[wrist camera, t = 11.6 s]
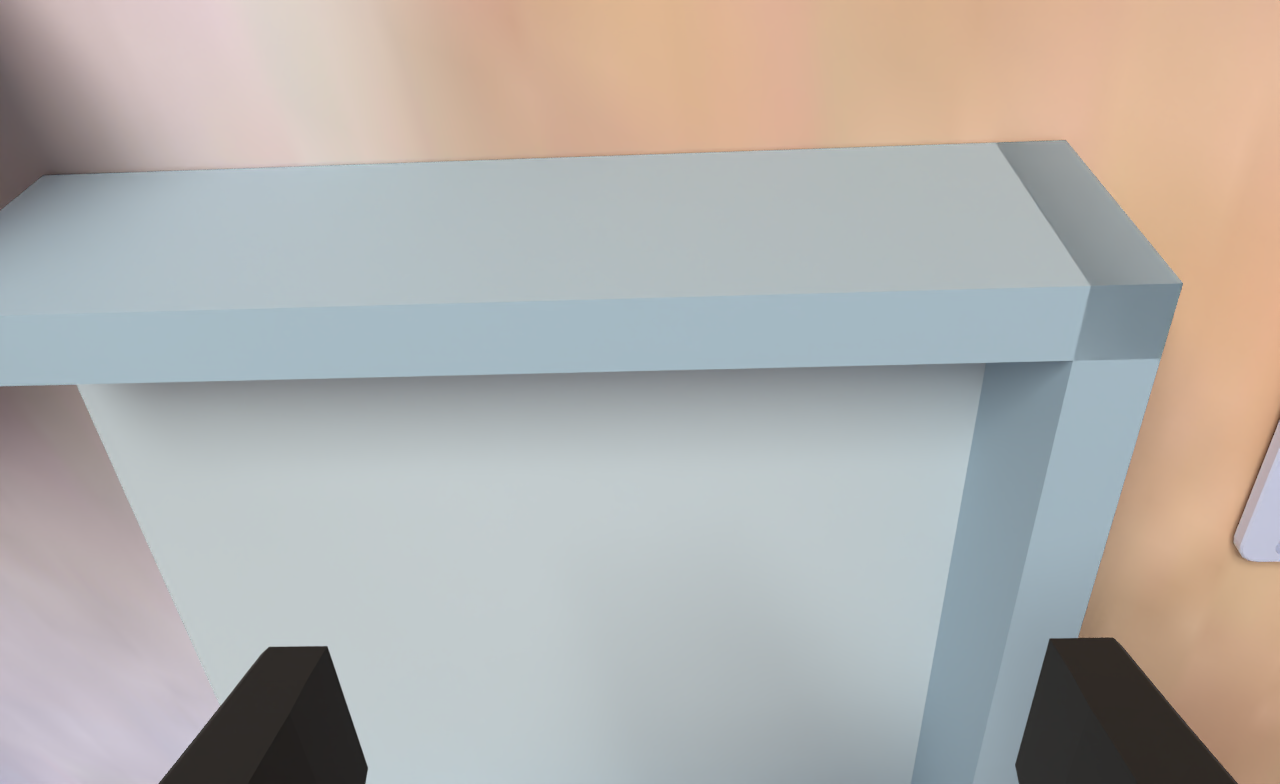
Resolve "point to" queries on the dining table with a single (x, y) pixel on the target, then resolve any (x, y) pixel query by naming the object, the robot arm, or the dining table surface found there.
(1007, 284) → the bay
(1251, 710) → the dining table surface
